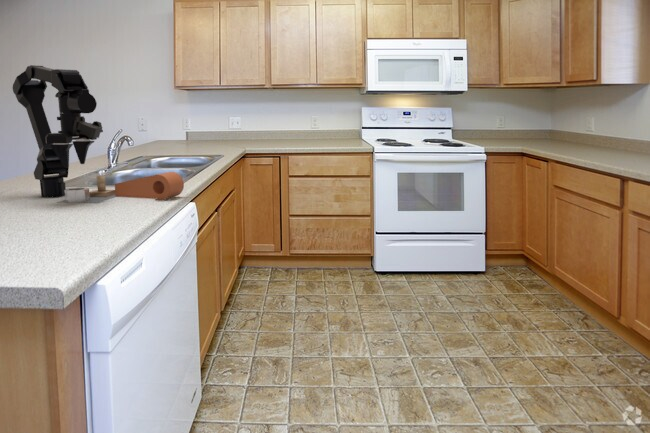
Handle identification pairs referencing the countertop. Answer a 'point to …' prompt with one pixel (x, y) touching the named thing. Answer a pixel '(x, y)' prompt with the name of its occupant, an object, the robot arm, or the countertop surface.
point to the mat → (92, 200)
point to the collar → (77, 194)
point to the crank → (152, 186)
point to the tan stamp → (101, 188)
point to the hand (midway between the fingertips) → (74, 165)
